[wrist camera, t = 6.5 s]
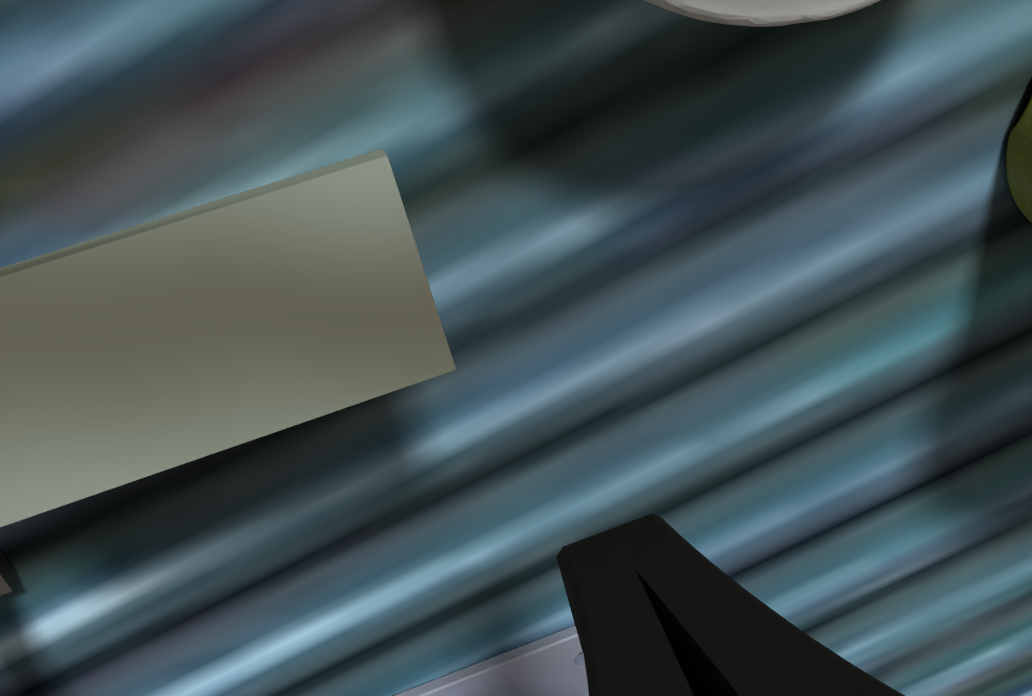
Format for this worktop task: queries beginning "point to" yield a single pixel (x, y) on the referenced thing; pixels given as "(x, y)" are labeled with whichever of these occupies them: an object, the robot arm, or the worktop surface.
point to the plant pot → (1021, 162)
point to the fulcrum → (6, 575)
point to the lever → (208, 332)
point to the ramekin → (762, 10)
